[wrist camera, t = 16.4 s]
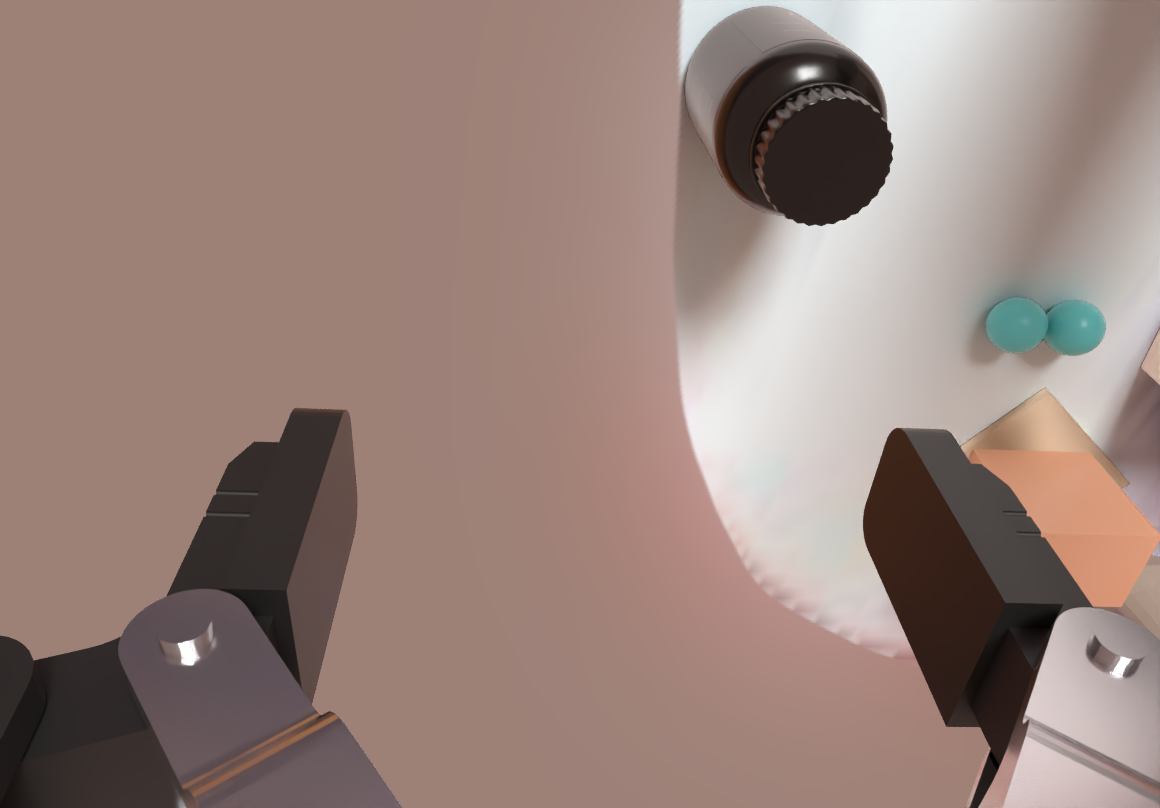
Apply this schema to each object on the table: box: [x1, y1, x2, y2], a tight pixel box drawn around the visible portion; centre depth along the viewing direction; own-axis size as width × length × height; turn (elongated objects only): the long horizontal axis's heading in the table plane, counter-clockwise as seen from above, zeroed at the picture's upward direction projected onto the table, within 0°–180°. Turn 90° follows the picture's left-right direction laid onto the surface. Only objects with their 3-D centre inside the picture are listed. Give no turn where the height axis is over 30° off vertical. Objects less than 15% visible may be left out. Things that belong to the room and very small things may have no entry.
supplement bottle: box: [685, 6, 893, 226], centre depth 37 cm, size 7×7×12 cm
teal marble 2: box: [1044, 300, 1106, 356], centre depth 48 cm, size 3×3×3 cm
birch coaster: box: [960, 388, 1130, 489], centre depth 56 cm, size 10×10×1 cm
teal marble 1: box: [986, 297, 1048, 353], centre depth 48 cm, size 3×3×3 cm
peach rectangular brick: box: [969, 449, 1160, 607], centre depth 52 cm, size 7×5×8 cm
